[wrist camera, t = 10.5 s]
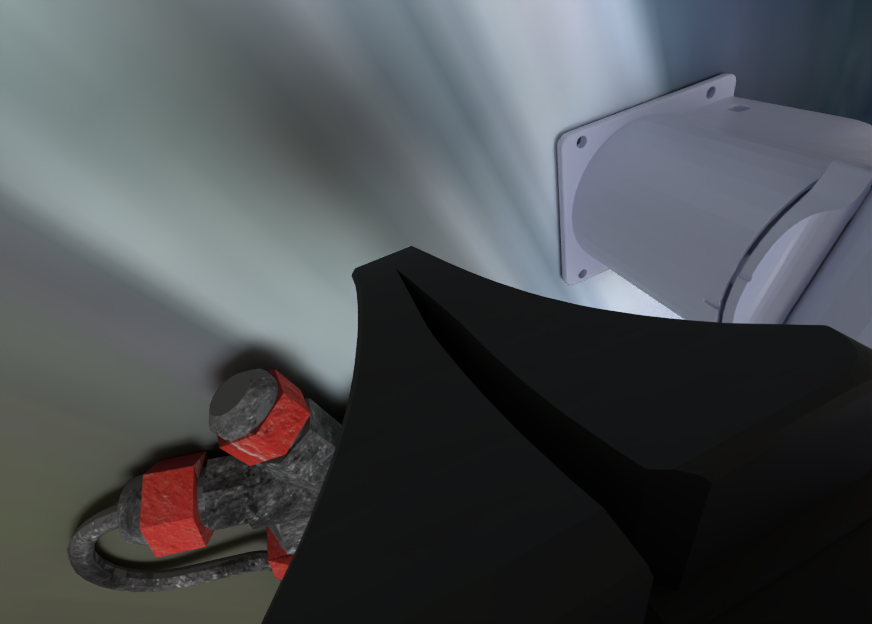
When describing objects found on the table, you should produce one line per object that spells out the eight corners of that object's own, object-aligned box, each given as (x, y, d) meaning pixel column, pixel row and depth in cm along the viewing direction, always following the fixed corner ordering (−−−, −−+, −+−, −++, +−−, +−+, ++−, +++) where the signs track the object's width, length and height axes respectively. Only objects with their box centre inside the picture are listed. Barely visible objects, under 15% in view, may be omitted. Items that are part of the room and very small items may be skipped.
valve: (-5, 360, 18) (377, 314, 21) (187, 624, 34) (392, 575, 37) (-117, 509, 13) (402, 421, 16) (169, 738, 29) (407, 670, 32)
